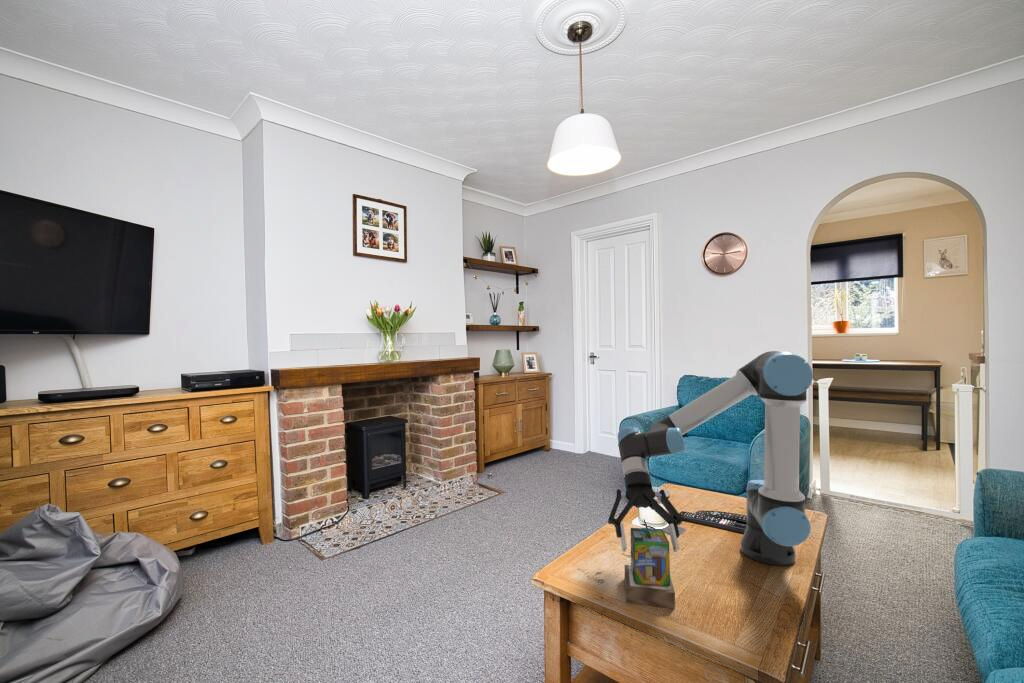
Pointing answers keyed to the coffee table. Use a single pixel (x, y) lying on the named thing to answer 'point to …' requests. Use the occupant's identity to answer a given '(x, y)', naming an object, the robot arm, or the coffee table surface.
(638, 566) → the chalk box
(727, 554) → the coffee table surface
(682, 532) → the smartphone
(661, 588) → the base brick
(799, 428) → the robot arm
